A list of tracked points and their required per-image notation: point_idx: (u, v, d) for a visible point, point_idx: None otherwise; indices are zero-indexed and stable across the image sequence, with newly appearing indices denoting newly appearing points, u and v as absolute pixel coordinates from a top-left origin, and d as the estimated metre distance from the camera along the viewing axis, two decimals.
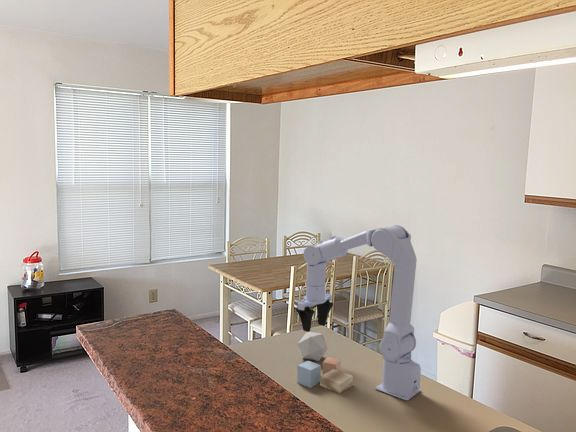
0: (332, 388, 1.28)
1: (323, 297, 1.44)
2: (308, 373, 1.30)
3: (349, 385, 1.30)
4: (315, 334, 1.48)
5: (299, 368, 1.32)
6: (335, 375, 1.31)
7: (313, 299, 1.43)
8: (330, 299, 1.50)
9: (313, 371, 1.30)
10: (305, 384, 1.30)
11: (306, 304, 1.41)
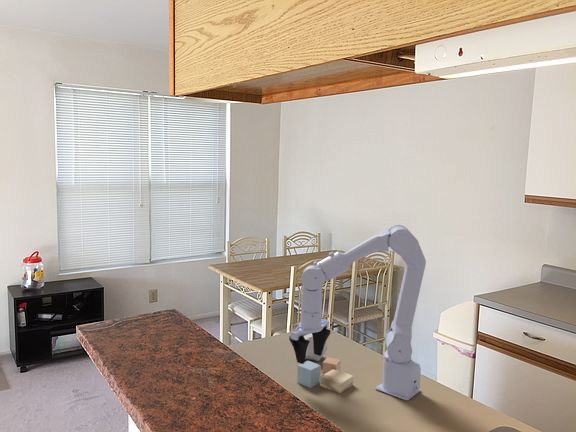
0: (332, 388, 1.28)
1: (319, 325, 1.29)
2: (308, 373, 1.30)
3: (349, 385, 1.31)
4: None
5: (299, 368, 1.32)
6: (335, 375, 1.31)
7: (308, 328, 1.28)
8: (327, 326, 1.36)
9: (313, 371, 1.30)
10: (305, 384, 1.30)
11: (300, 333, 1.26)
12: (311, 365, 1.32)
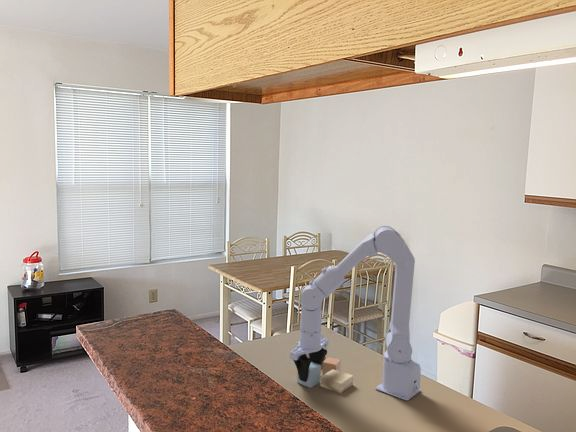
0: (332, 388, 1.28)
1: (319, 344, 1.30)
2: (308, 373, 1.30)
3: (349, 385, 1.31)
4: None
5: None
6: (334, 375, 1.31)
7: (307, 347, 1.29)
8: (327, 344, 1.36)
9: (313, 370, 1.30)
10: (305, 384, 1.30)
11: (300, 353, 1.26)
12: (311, 365, 1.32)
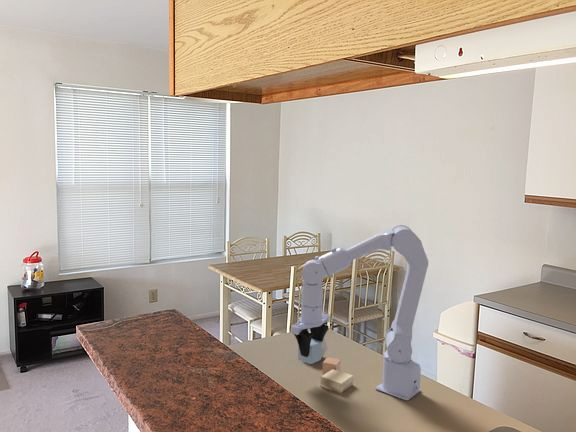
0: (333, 388, 1.28)
1: (320, 319, 1.29)
2: (309, 349, 1.29)
3: (349, 385, 1.31)
4: None
5: None
6: (335, 375, 1.31)
7: (309, 322, 1.28)
8: (328, 320, 1.35)
9: (314, 347, 1.29)
10: (306, 360, 1.30)
11: (301, 328, 1.26)
12: (312, 342, 1.31)
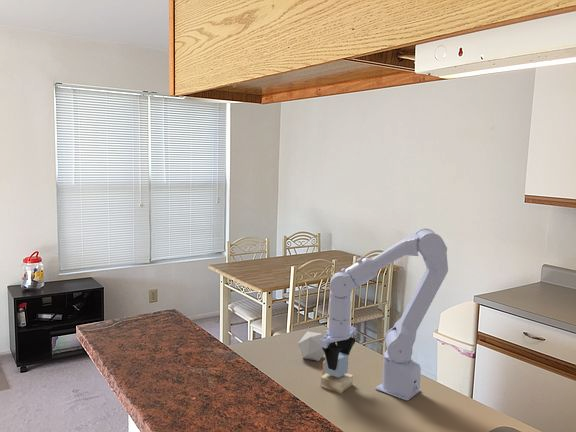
0: (333, 388, 1.28)
1: (348, 332, 1.28)
2: None
3: (349, 384, 1.31)
4: (315, 334, 1.48)
5: None
6: None
7: (337, 335, 1.27)
8: (354, 333, 1.35)
9: (341, 360, 1.29)
10: (333, 374, 1.29)
11: (329, 341, 1.25)
12: (339, 355, 1.31)
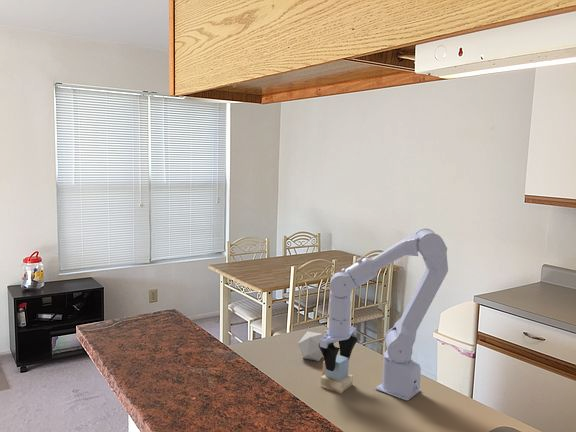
0: (333, 388, 1.28)
1: (348, 332, 1.28)
2: (336, 366, 1.28)
3: (349, 385, 1.31)
4: (315, 334, 1.48)
5: None
6: None
7: (337, 335, 1.27)
8: (354, 333, 1.35)
9: (341, 364, 1.29)
10: (334, 377, 1.29)
11: (329, 341, 1.25)
12: (339, 358, 1.31)
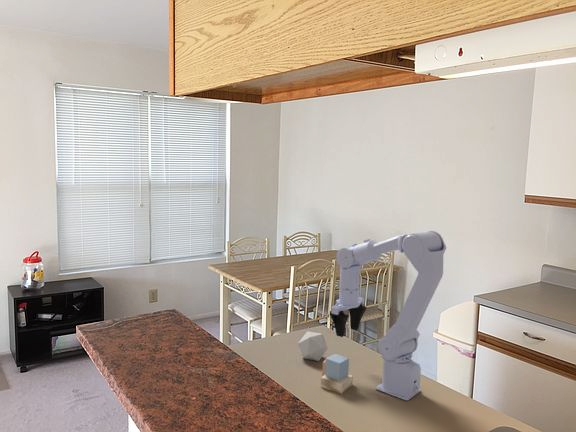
0: (333, 389, 1.28)
1: (357, 301, 1.40)
2: (336, 366, 1.28)
3: (349, 385, 1.31)
4: (315, 334, 1.48)
5: (327, 361, 1.30)
6: None
7: (347, 303, 1.39)
8: (363, 303, 1.46)
9: (342, 364, 1.29)
10: (334, 377, 1.29)
11: (340, 308, 1.37)
12: (339, 358, 1.31)
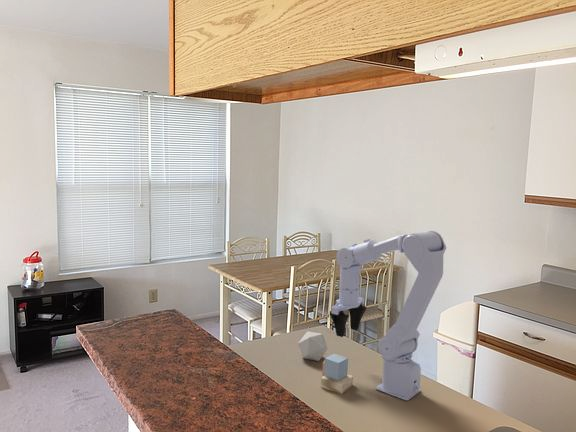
0: (334, 389, 1.28)
1: (357, 301, 1.40)
2: (335, 366, 1.28)
3: (349, 385, 1.30)
4: (315, 334, 1.48)
5: (326, 361, 1.30)
6: None
7: (347, 303, 1.39)
8: (363, 303, 1.46)
9: (341, 363, 1.29)
10: (333, 377, 1.29)
11: (340, 308, 1.37)
12: (338, 358, 1.31)
